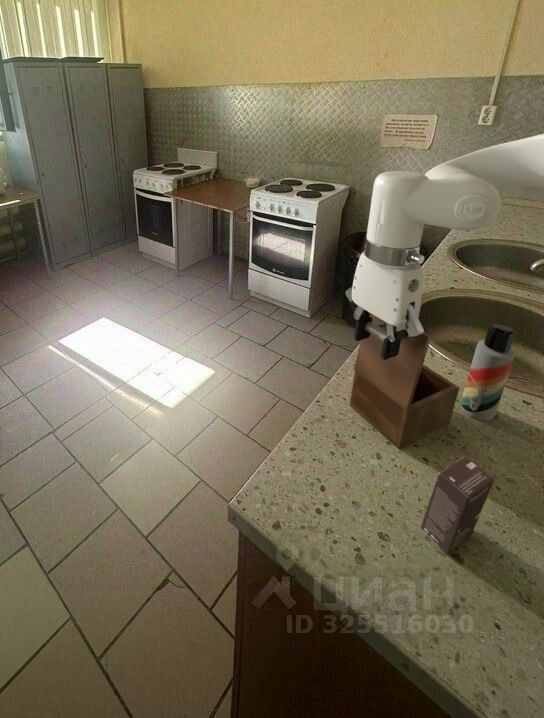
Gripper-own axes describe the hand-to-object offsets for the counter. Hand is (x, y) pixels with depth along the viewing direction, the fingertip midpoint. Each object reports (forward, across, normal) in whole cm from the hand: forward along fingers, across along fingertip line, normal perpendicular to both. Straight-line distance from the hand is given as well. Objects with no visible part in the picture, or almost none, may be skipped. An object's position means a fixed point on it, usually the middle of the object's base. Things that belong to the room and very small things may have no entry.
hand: (375, 346), depth 68 cm
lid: (+3, 0, -4) cm, 5 cm away
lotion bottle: (+20, -6, -25) cm, 32 cm away
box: (+20, -19, +3) cm, 28 cm away
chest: (+20, 0, -10) cm, 22 cm away
